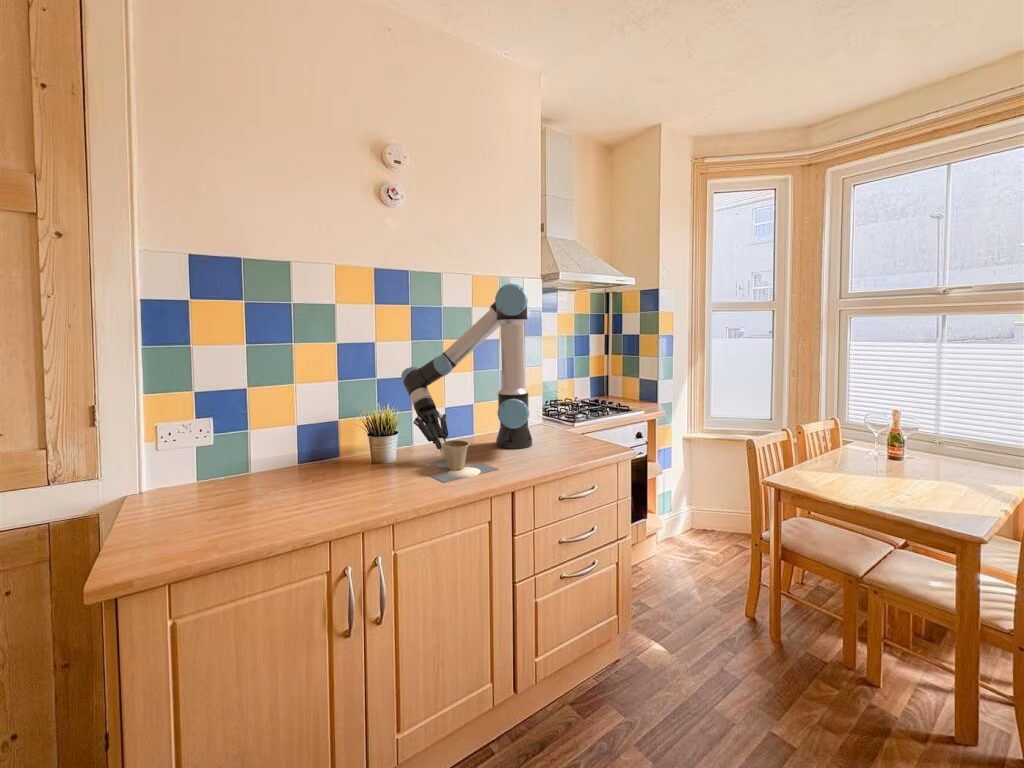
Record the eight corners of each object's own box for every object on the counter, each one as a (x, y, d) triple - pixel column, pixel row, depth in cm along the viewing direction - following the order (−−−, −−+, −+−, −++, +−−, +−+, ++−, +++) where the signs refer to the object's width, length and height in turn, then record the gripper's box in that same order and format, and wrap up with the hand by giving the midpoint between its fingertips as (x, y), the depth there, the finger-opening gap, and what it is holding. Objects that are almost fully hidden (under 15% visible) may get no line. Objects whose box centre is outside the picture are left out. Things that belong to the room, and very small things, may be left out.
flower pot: (469, 463, 166) (469, 439, 165) (469, 471, 157) (469, 447, 155) (443, 463, 165) (442, 440, 164) (441, 472, 156) (441, 447, 155)
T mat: (411, 467, 163) (411, 466, 163) (464, 456, 176) (464, 455, 176) (444, 483, 145) (444, 482, 145) (500, 470, 159) (500, 469, 159)
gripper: (435, 407, 181) (458, 457, 170) (404, 410, 172) (426, 464, 161) (441, 395, 176) (466, 446, 165) (410, 398, 168) (433, 452, 157)
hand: (446, 455), depth 163 cm, fingers closed
